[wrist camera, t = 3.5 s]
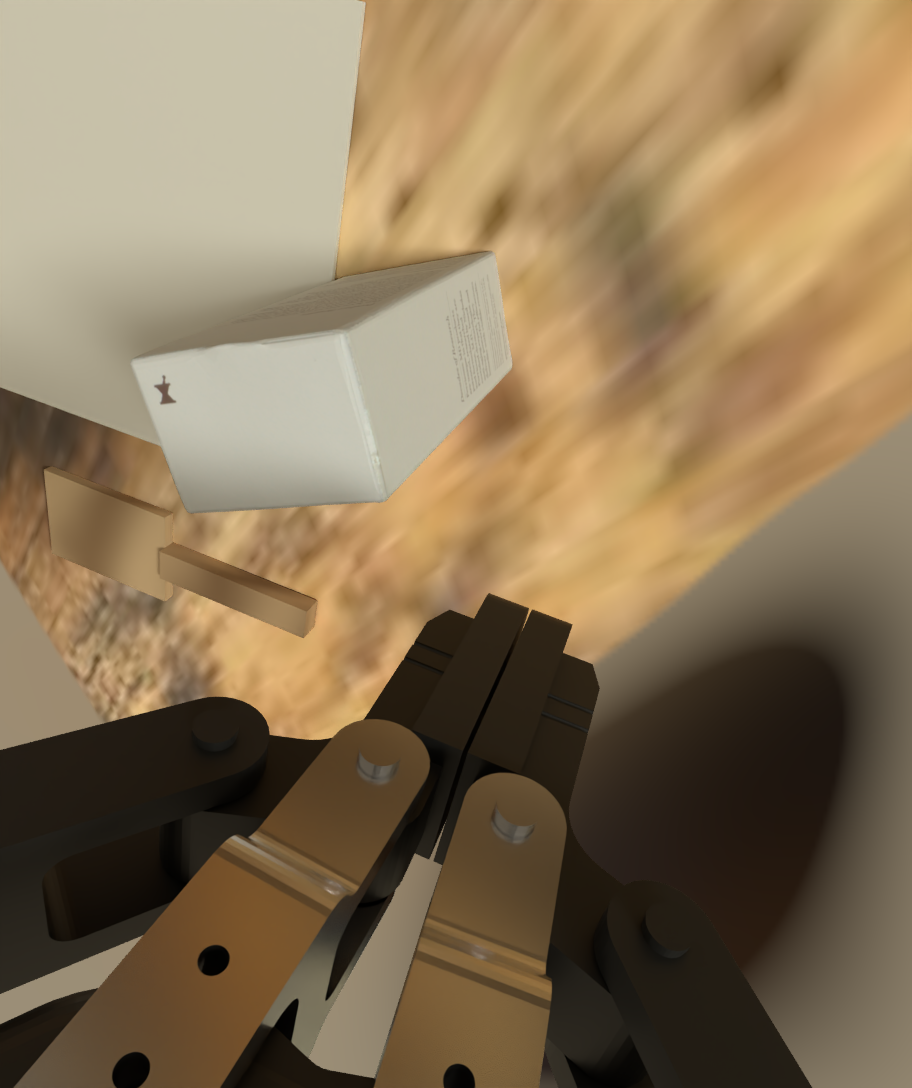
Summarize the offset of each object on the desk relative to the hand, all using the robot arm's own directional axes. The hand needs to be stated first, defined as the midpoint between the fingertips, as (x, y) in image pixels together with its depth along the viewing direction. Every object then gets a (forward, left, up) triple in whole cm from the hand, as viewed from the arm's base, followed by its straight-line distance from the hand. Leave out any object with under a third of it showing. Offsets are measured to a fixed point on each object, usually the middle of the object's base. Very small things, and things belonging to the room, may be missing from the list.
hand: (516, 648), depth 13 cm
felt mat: (+20, 0, -16) cm, 26 cm away
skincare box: (+8, 0, -16) cm, 18 cm away
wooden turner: (+19, +15, -16) cm, 29 cm away
